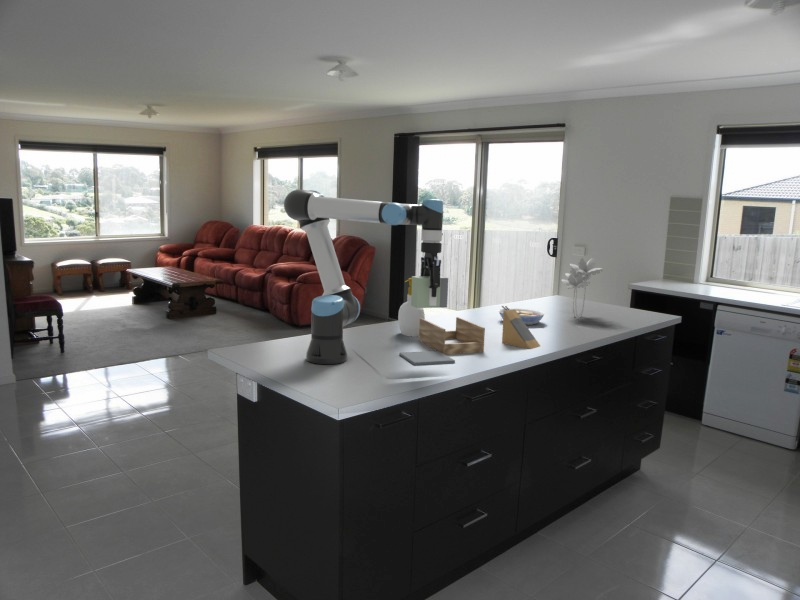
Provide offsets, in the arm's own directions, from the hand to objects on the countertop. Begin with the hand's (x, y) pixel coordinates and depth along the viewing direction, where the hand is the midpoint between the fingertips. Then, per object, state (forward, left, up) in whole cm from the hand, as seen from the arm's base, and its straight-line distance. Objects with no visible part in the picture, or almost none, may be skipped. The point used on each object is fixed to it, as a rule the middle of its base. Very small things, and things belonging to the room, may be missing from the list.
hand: (428, 304), depth 222 cm
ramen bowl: (+74, +55, -21) cm, 94 cm away
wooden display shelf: (+18, +18, -21) cm, 33 cm away
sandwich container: (+49, +12, -21) cm, 54 cm away
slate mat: (0, 0, -21) cm, 21 cm away
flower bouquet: (+111, +60, -21) cm, 128 cm away
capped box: (0, 0, -1) cm, 1 cm away
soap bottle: (+9, +41, -21) cm, 47 cm away
